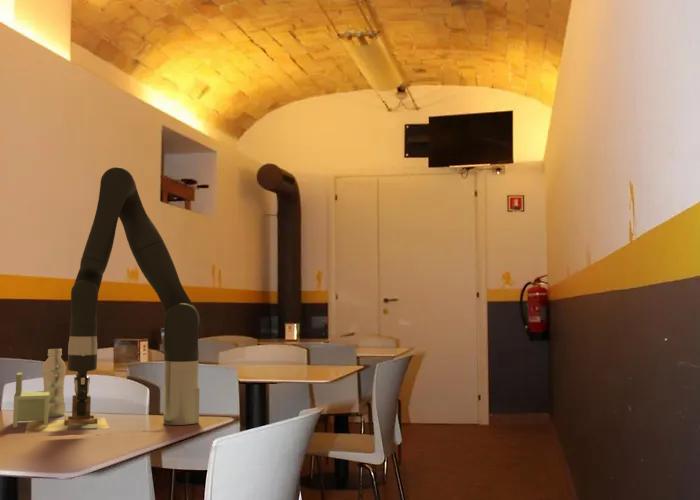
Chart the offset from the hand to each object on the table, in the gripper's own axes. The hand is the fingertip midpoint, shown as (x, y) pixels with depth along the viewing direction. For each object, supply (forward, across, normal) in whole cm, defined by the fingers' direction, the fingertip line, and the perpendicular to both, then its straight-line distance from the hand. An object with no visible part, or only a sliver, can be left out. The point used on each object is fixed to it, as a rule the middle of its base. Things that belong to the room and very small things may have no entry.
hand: (80, 413), depth 204 cm
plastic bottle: (+3, -16, -7) cm, 18 cm away
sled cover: (+2, 0, -12) cm, 13 cm away
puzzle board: (+3, +4, -3) cm, 6 cm away
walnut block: (+2, 0, 0) cm, 2 cm away
